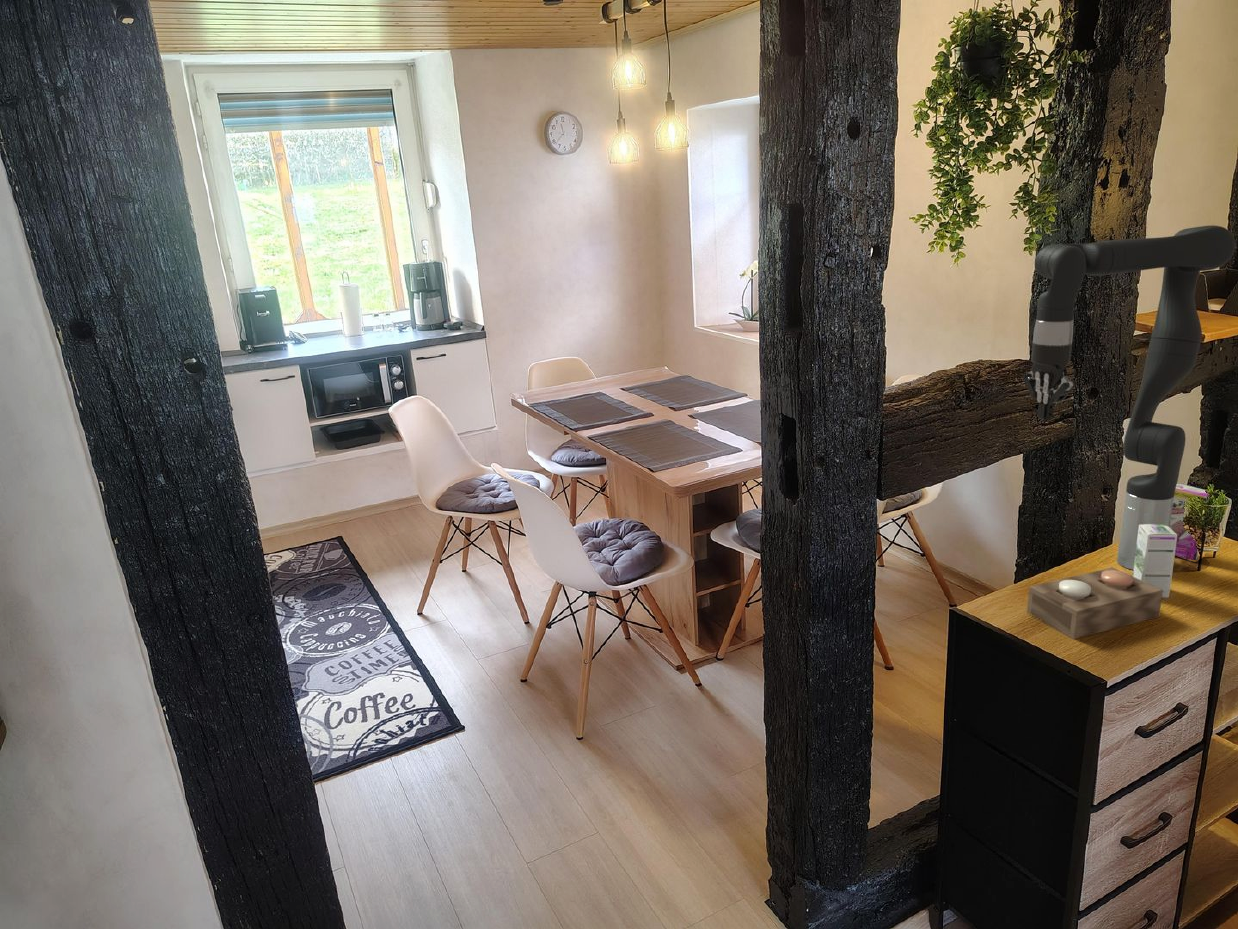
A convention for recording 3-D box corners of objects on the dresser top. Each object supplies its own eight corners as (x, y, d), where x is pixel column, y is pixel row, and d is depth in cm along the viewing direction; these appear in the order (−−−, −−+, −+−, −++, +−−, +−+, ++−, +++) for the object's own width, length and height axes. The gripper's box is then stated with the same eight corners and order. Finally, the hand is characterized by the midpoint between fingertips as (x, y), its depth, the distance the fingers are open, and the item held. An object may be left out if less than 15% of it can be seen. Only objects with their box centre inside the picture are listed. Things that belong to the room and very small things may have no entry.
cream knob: (1070, 609, 177) (1074, 577, 175) (1093, 621, 172) (1097, 588, 170) (1049, 615, 175) (1052, 583, 173) (1071, 627, 170) (1075, 594, 168)
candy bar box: (1144, 549, 205) (1153, 484, 200) (1155, 543, 207) (1165, 479, 202) (1195, 564, 196) (1206, 496, 191) (1206, 558, 198) (1217, 491, 193)
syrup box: (1170, 598, 181) (1179, 534, 176) (1139, 597, 182) (1148, 533, 178) (1159, 586, 186) (1168, 524, 182) (1129, 585, 187) (1138, 523, 183)
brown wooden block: (1108, 593, 184) (1112, 567, 183) (1159, 616, 173) (1163, 589, 172) (1026, 613, 178) (1029, 586, 176) (1073, 639, 167) (1077, 611, 165)
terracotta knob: (1112, 599, 180) (1116, 568, 178) (1135, 610, 175) (1139, 578, 173) (1091, 604, 179) (1095, 573, 177) (1114, 616, 174) (1118, 583, 172)
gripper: (1091, 343, 179) (1082, 423, 184) (1042, 335, 191) (1035, 410, 196) (1063, 347, 177) (1054, 428, 182) (1015, 338, 189) (1008, 415, 194)
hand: (1044, 419), depth 189 cm, fingers closed
